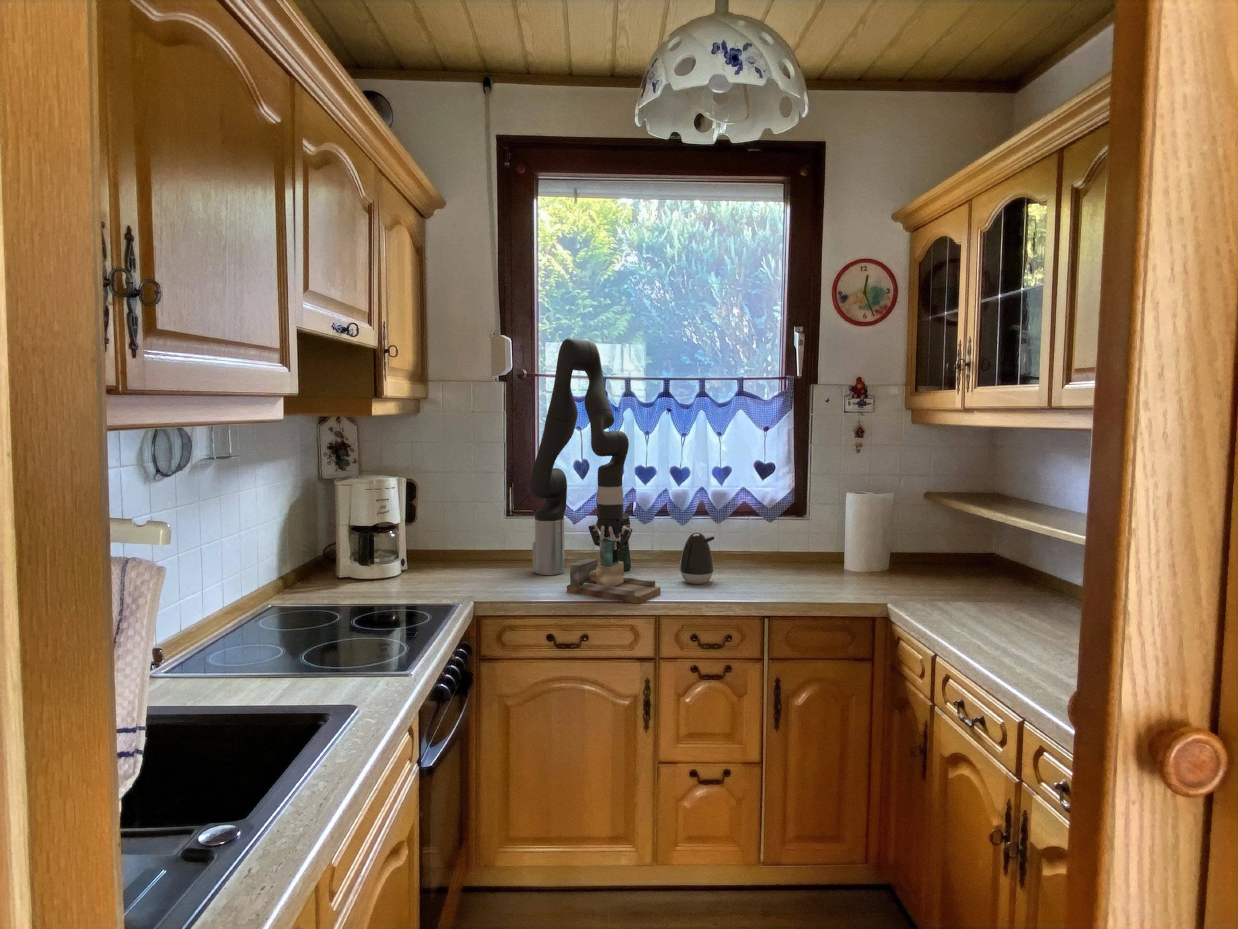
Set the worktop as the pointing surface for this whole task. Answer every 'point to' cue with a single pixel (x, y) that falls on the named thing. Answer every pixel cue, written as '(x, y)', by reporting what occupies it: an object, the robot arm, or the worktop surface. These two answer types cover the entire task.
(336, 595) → the worktop surface
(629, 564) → the coffee jar
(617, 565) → the sliding jaw
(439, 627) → the worktop surface
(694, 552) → the pump dispenser
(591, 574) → the walnut
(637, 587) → the base
